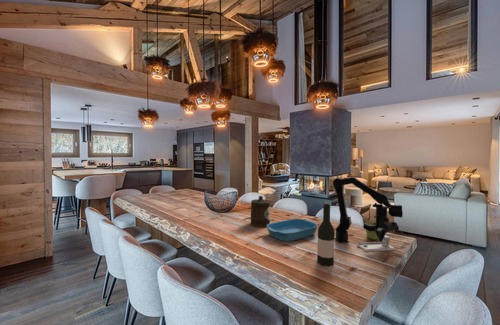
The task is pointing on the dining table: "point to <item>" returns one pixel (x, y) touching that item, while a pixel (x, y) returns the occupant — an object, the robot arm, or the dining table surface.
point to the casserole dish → (292, 229)
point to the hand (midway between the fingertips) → (380, 241)
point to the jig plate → (374, 246)
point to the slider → (386, 241)
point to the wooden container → (260, 212)
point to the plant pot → (371, 233)
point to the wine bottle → (326, 239)
